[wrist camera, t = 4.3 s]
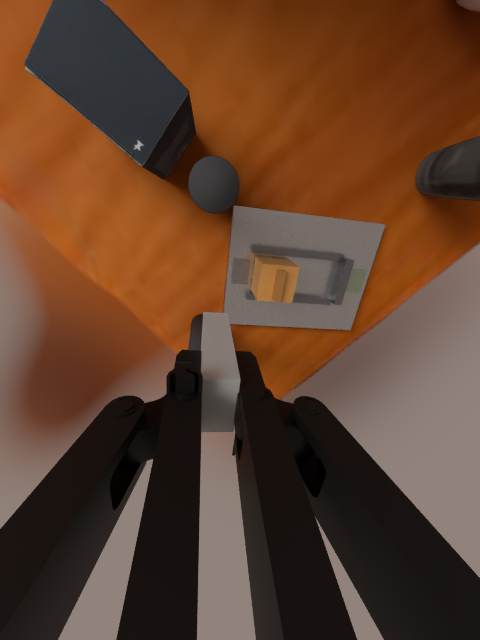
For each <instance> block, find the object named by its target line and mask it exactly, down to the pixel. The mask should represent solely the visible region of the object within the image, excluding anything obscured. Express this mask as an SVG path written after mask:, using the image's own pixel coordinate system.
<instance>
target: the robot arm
mask: <svg viewBox="0 0 480 640" xmlns="http://www.w3.org/2000/svg"><path fill="white" fill-rule="evenodd" d="M234 425H235V440H234V446H233V453H232V455H236V463H237V473H238V481H239V490H240V499H241V509H242V518H243V526H244V536H245V545H246V554H247V562H248V572H249V581H250V589H251V598H252V607H253V616H254V625H255V634H256V640H357V638H356V635H355V632H354V629H353V626H352V623H351V621H350V617H349V614H348V612H347V609H346V606H345V603H344V600H343V597H342V594H341V591H340V588H339V585H338V582H337V579H336V577H335V574H334V571H333V568H332V565H331V562H330V559H329V556H328V553H327V551H326V547H325V545H324V542H323V539H322V536H321V533H320V530H319V527H318V524H317V521H316V519H317V520H318V522H319V524H320V526H321V527H322V529H323V531H324V533H325V535H326V536H327V538H328V540H329V542H330V543H331V545H332V547H333V549H334V550H335V553H336V554H337V556H338V558H339V559H340V561H341V563H342V565H343V567H344V568H345V570H346V572H347V574H348V576H349V578H350V579H351V581H352V583H353V585H354V587H355V588H356V590H357V592H358V594H359V595H360V597H361V599H362V601H363V603H364V604H365V606H366V608H367V610H368V612H369V613H370V615H371V617H372V619H373V620H374V622H375V624H376V626H377V627H378V629H379V631H380V633H381V635H382V637H383V638H384V640H480V578H479V577H478V576H477V575H476V573H475V572H474V571H473V570H472V569H471V568H470V567H469V566H468V564H467V563H466V562H465V561H464V560H463V559H462V558H461V557H460V556H459V554H458V553H457V552H456V551H455V550H454V549H453V548H452V547H451V546H450V544H449V543H448V542H447V541H446V540H445V539H444V538H443V537H442V536H441V534H440V533H439V532H438V531H437V530H436V529H435V528H434V527H433V526H432V524H431V523H430V522H429V521H428V520H427V519H426V518H425V517H424V515H423V514H422V513H421V512H420V511H419V510H418V509H417V508H416V507H415V505H414V504H413V503H412V502H411V501H410V500H409V499H408V498H407V496H405V494H404V493H403V492H402V491H401V490H400V489H399V488H398V486H397V485H396V484H395V483H394V482H393V481H392V480H391V479H390V478H389V476H388V475H387V474H386V473H385V472H384V471H383V470H382V469H381V468H380V467H379V465H378V464H377V463H376V462H375V461H374V460H373V459H372V458H371V456H370V455H369V454H368V453H367V452H366V451H365V450H364V449H363V447H362V446H361V445H360V444H359V443H358V442H357V441H356V440H355V439H354V438H353V436H352V435H351V434H350V433H349V432H348V431H347V430H346V429H345V428H344V426H343V425H342V424H341V423H340V422H339V421H338V420H337V418H335V416H334V415H333V414H332V413H331V412H330V411H329V410H328V408H327V407H326V406H325V405H324V404H323V403H321V402H320V401H319V400H317V399H315V398H312V397H308V396H301V397H298V398H296V399H295V401H294V403H293V404H292V403H288V402H284V401H281V400H278V399H276V398H274V396H273V394H272V392H271V391H270V390H269V389H267V388H266V387H265V384H264V381H263V378H262V375H261V372H260V370H259V366H258V363H257V359H256V357H255V356H254V355H253V354H252V353H251V352H245V351H235V349H234V343H233V338H232V333H231V328H230V322H229V317H228V313H216V312H203V326H202V342H201V351H198V350H181V351H180V352H179V353H178V354H177V356H176V362H175V366H174V369H173V370H172V371H170V372H169V373H168V375H167V394H166V395H165V396H164V397H162V398H160V399H158V400H155V401H152V402H147V403H144V401H143V400H142V399H140V398H138V397H135V396H123V397H119V398H117V399H114V400H112V401H111V402H110V403H109V404H108V405H106V406H105V407H104V409H103V410H102V411H101V412H100V413H99V415H98V416H97V417H96V418H95V419H94V420H93V422H92V423H91V424H90V425H89V426H88V427H87V429H86V430H85V431H84V432H83V433H82V434H81V436H80V437H79V438H78V439H77V440H76V441H75V443H74V444H73V445H72V446H71V447H70V448H69V450H68V451H67V452H66V453H65V454H64V455H63V457H62V458H61V459H60V460H59V461H58V462H57V464H56V465H55V466H54V467H53V468H52V470H51V471H50V472H49V473H48V474H47V475H46V476H45V478H44V479H43V480H42V481H41V482H40V484H39V485H38V486H37V487H36V488H35V489H34V491H33V492H32V493H31V494H30V495H29V496H28V497H27V499H26V500H25V501H24V502H23V503H22V505H21V506H20V507H19V508H18V509H17V510H16V512H15V513H14V514H13V515H12V516H11V517H10V519H9V520H8V521H7V522H6V523H5V524H4V526H3V527H2V528H1V529H0V640H58V638H59V636H60V634H61V632H62V630H63V628H64V626H65V624H66V622H67V620H68V618H69V616H70V614H71V612H72V610H73V608H74V606H75V604H76V602H77V600H78V598H79V596H80V594H81V592H82V590H83V588H84V586H85V584H86V582H87V580H88V578H89V576H90V574H91V572H92V570H93V568H94V566H95V564H96V562H97V560H98V558H99V556H100V554H101V552H102V550H103V548H104V546H105V544H106V542H107V540H108V538H109V536H110V534H111V533H112V531H113V528H114V527H115V525H116V523H117V520H118V519H119V517H120V514H121V513H122V511H123V509H124V507H125V505H126V503H127V501H128V499H129V497H130V495H131V492H132V491H133V489H134V486H135V484H136V483H137V481H138V478H139V476H140V475H141V473H142V471H143V469H144V466H145V464H146V461H147V460H150V459H153V464H152V468H151V473H150V479H149V483H148V488H147V493H146V498H145V503H144V508H143V512H142V517H141V522H140V527H139V532H138V537H137V542H136V547H135V551H134V556H133V561H132V566H131V571H130V576H129V581H128V586H127V591H126V595H125V601H124V605H123V610H122V615H121V620H120V625H119V630H118V635H117V639H116V640H197V603H198V556H199V554H198V553H199V507H200V460H201V432H232V431H233V430H234ZM315 517H316V518H315Z"/></svg>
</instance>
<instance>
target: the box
mask: <svg viewBox="0 0 480 640" xmlns="http://www.w3.org/2000/svg"><path fill="white" fill-rule="evenodd" d="M24 64H25V69H26V70H27V71H28V72H30V73H31V74H32V75H34V76H35V77H36V78H38V79H39V80H40V81H41V82H43V83H44V84H45V85H46V86H48V87H49V88H50V89H51V90H53V91H54V92H55V93H56V94H57V95H59V96H60V97H61V98H62V99H63V100H64V101H66V102H67V103H68V104H69V105H71V106H72V107H73V108H74V109H75V110H77V111H78V112H79V113H80V114H81V115H82V116H84V117H85V118H86V119H87V120H88V121H90V122H91V123H92V124H93V125H94V126H95V127H96V128H98V129H99V130H100V131H101V132H102V133H103V134H105V135H106V136H107V137H108V138H109V139H111V140H112V141H113V142H114V143H115V144H116V145H117V146H119V147H120V148H121V149H122V150H123V151H124V152H125V153H127V154H128V155H129V156H130V157H131V158H132V159H133V160H134V161H135V162H137V163H138V164H139V165H140V166H142V167H143V168H145V169H147V170H148V171H150V172H152V173H153V174H155V175H157V176H159V177H160V178H162V179H166V177H167V176H168V174H169V173H170V171H171V170H172V168H173V167H174V165H175V164H176V162H177V161H178V159H179V158H180V156H181V155H182V153H183V152H184V150H185V149H186V147H187V146H188V144H189V143H190V141H191V140H192V138H193V137H194V136H195V134H196V131H195V125H194V118H193V112H192V106H191V101H190V96H189V91H188V89H187V88H186V87H185V86H184V85H183V84H182V83H181V82H180V81H179V80H178V79H177V78H176V77H175V76H174V75H173V74H172V73H171V72H170V71H169V70H168V69H167V67H166V66H165V65H164V64H163V63H162V62H161V61H160V60H159V59H158V58H157V57H156V56H155V55H154V54H153V53H152V52H151V51H150V50H149V49H148V48H147V47H146V46H145V45H144V43H143V42H142V41H141V40H140V39H139V38H138V37H137V36H136V35H135V34H134V33H133V32H132V31H131V30H130V29H129V28H128V27H127V26H126V25H125V23H124V22H123V21H122V20H121V19H120V18H119V17H118V16H117V15H116V14H115V13H114V12H113V11H112V10H111V9H110V8H109V7H108V6H107V5H106V4H105V3H104V2H103V1H102V0H53V1H52V3H51V6H50V8H49V10H48V12H47V14H46V16H45V19H44V21H43V23H42V26H41V28H40V30H39V32H38V35H37V37H36V39H35V41H34V43H33V46H32V48H31V50H30V52H29V54H28V56H27V58H26V60H25V63H24Z"/></svg>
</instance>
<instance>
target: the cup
mask: <svg viewBox="0 0 480 640" xmlns="http://www.w3.org/2000/svg"><path fill="white" fill-rule="evenodd" d="M455 1H456V2H457V4H458V5H459V6H460V7H462V8H464V9H467V10H470V11H474V12H480V0H455Z"/></svg>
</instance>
